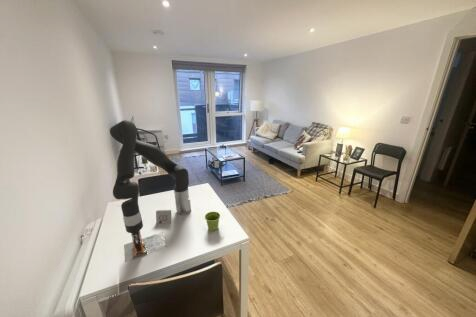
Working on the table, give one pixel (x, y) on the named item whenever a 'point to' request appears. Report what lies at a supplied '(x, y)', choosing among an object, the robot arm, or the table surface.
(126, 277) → the table surface
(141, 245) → the cap
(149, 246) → the panel
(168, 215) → the electrical switch
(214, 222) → the plant pot
